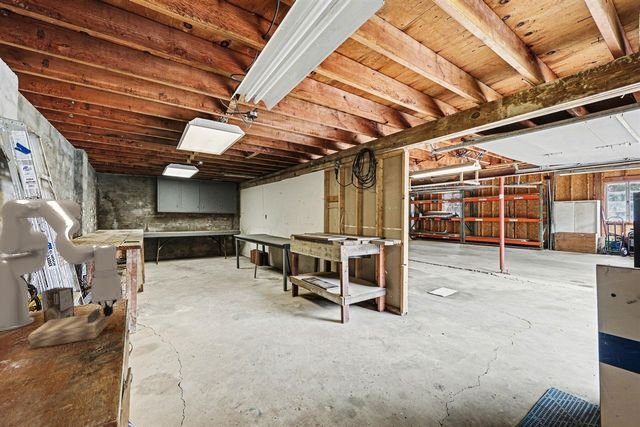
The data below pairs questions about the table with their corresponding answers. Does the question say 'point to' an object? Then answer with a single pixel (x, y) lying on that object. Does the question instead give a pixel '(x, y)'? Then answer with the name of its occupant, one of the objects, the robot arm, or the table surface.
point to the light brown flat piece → (67, 326)
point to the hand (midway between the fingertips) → (108, 315)
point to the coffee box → (58, 303)
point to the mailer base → (71, 336)
